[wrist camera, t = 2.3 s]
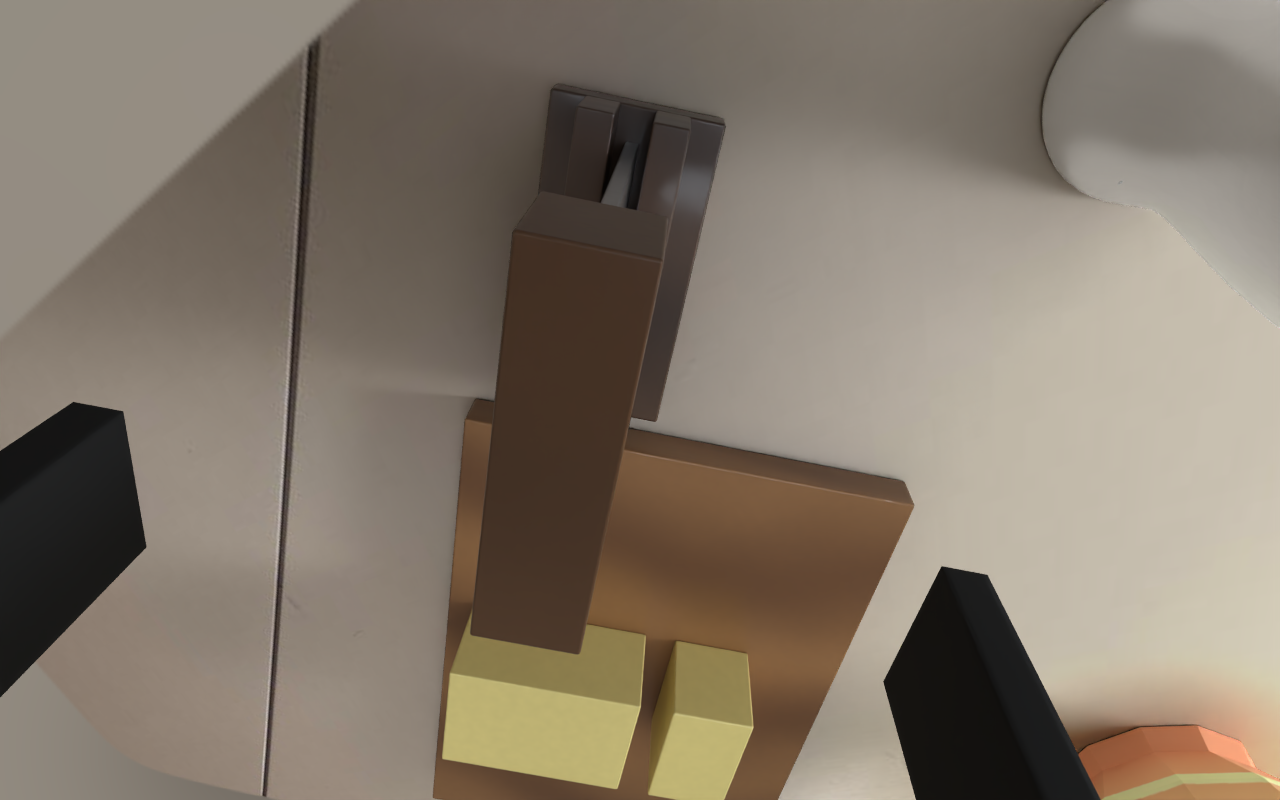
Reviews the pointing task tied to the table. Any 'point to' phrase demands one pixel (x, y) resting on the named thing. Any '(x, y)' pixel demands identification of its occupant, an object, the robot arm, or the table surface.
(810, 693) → the board
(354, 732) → the table surface
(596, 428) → the cleaver
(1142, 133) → the beer glass
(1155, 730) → the potted cactus
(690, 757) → the butter pat
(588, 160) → the knife holder
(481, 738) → the butter
